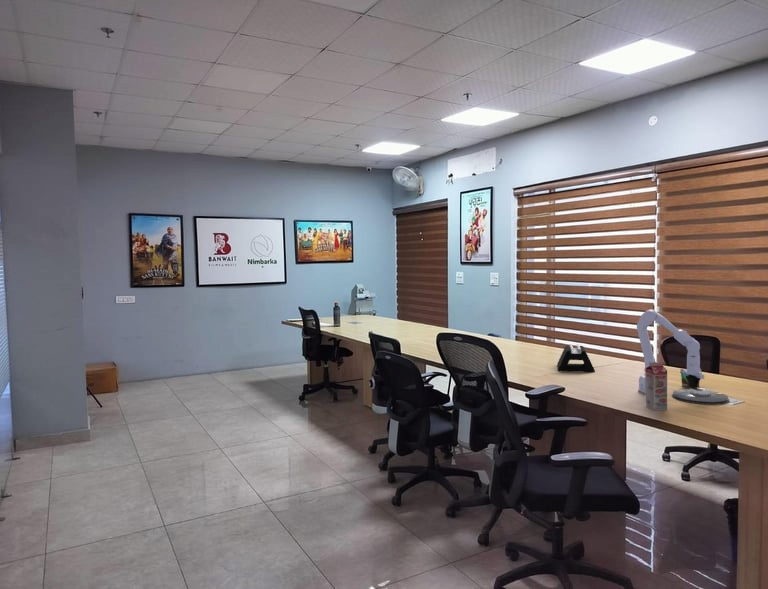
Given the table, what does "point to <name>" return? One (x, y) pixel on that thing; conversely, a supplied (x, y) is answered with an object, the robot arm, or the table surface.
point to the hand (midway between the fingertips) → (693, 389)
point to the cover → (700, 392)
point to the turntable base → (700, 402)
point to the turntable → (714, 397)
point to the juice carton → (656, 386)
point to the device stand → (574, 354)
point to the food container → (685, 379)
